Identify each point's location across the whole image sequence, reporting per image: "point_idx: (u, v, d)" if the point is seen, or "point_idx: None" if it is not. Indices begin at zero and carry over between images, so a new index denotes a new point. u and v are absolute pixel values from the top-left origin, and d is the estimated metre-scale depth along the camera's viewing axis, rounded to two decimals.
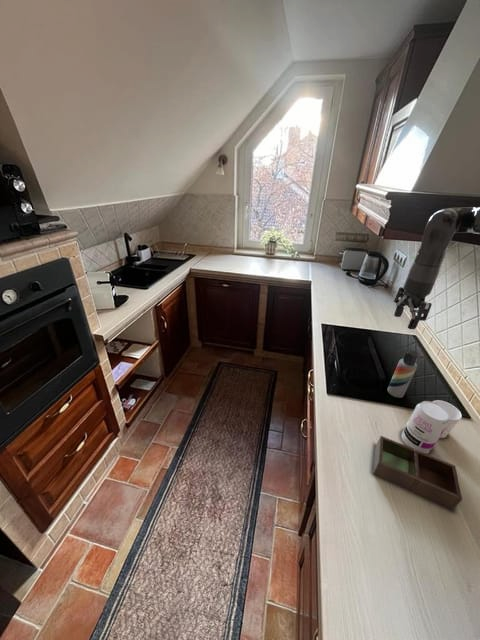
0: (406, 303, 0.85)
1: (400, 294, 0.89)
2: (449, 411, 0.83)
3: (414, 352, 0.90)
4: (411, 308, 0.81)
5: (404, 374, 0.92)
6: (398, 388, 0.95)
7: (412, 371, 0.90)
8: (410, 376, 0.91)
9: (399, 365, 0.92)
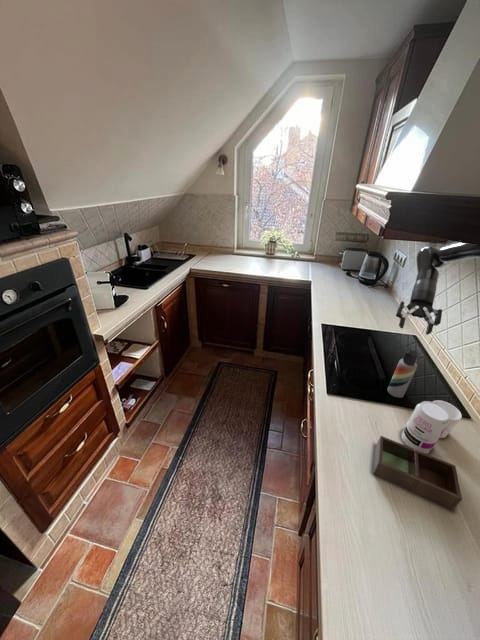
0: None
1: (435, 316, 0.97)
2: (449, 411, 0.83)
3: (414, 352, 0.90)
4: None
5: (404, 374, 0.92)
6: (398, 388, 0.95)
7: (412, 371, 0.90)
8: (410, 376, 0.91)
9: (399, 365, 0.92)
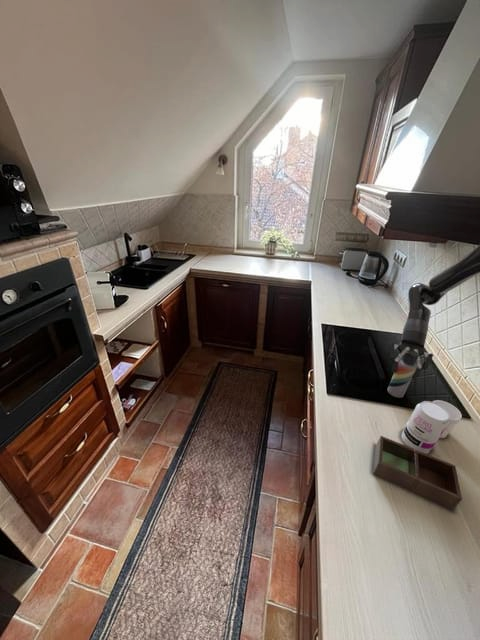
0: None
1: (425, 359, 0.93)
2: (449, 411, 0.83)
3: (414, 352, 0.90)
4: None
5: (404, 374, 0.92)
6: (398, 388, 0.95)
7: (412, 371, 0.90)
8: (410, 376, 0.91)
9: (399, 365, 0.92)
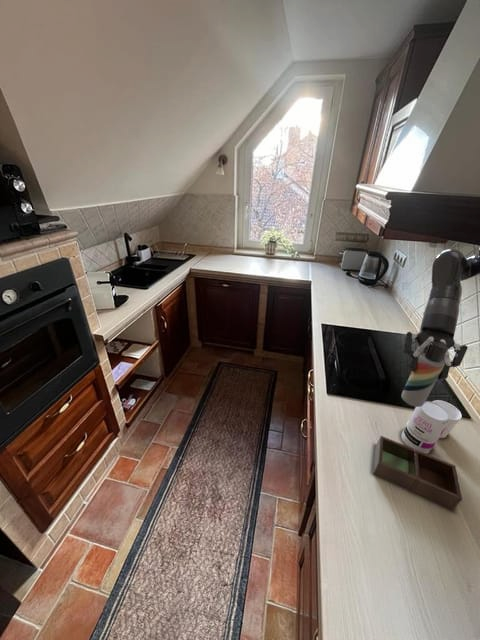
0: None
1: (456, 354, 0.67)
2: (449, 411, 0.83)
3: (441, 343, 0.64)
4: None
5: (426, 374, 0.66)
6: (418, 392, 0.69)
7: (438, 370, 0.64)
8: (435, 377, 0.66)
9: (419, 361, 0.67)
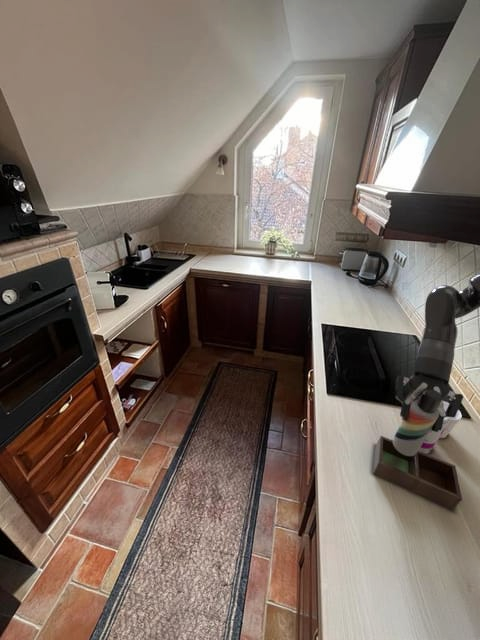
0: None
1: (450, 402, 0.62)
2: None
3: (435, 393, 0.59)
4: None
5: (418, 425, 0.61)
6: (410, 442, 0.64)
7: (432, 421, 0.59)
8: (428, 428, 0.61)
9: (411, 410, 0.62)
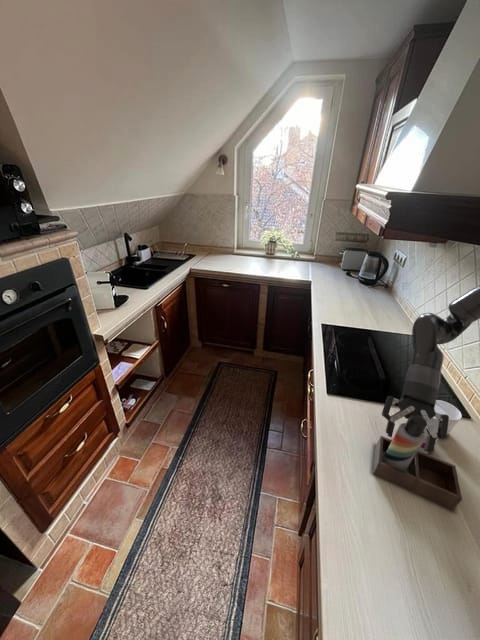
0: None
1: (439, 423, 0.66)
2: (449, 411, 0.83)
3: (420, 418, 0.64)
4: None
5: (405, 448, 0.65)
6: (398, 463, 0.68)
7: (417, 445, 0.64)
8: (414, 450, 0.65)
9: (399, 434, 0.66)
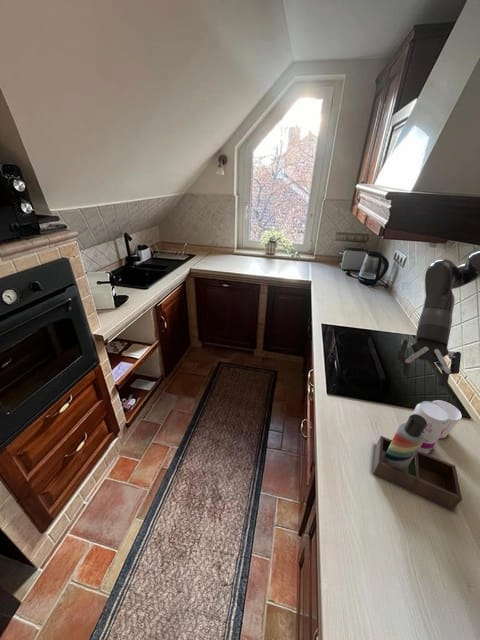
0: None
1: (451, 360, 0.70)
2: (449, 411, 0.83)
3: (420, 418, 0.64)
4: None
5: (405, 448, 0.65)
6: (398, 463, 0.68)
7: (417, 445, 0.64)
8: (414, 450, 0.65)
9: (399, 434, 0.66)
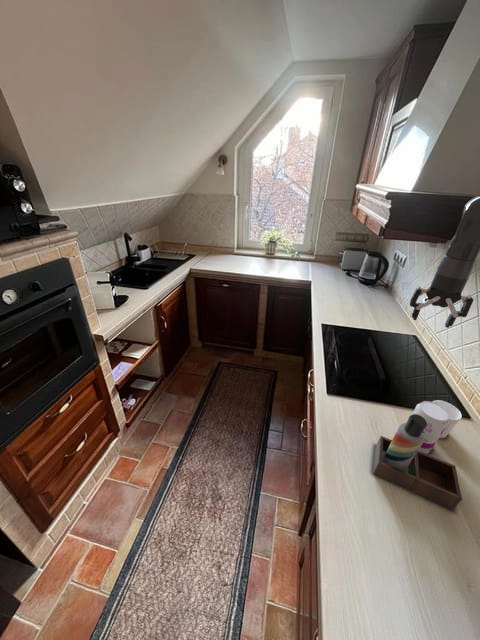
0: None
1: None
2: (449, 411, 0.83)
3: (420, 418, 0.64)
4: None
5: (405, 448, 0.65)
6: (398, 463, 0.68)
7: (417, 445, 0.64)
8: (414, 450, 0.65)
9: (399, 434, 0.66)
